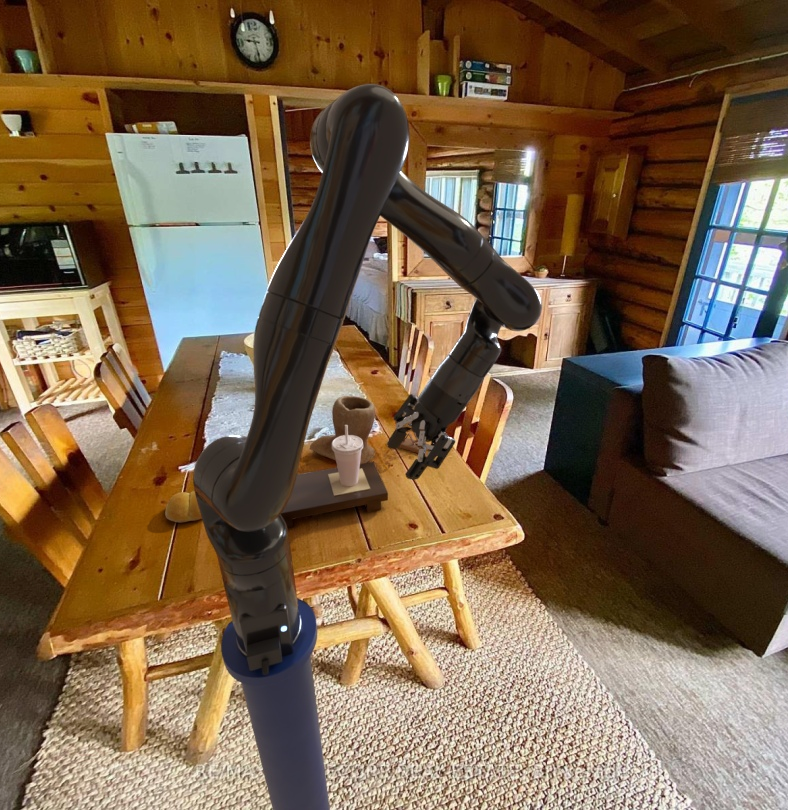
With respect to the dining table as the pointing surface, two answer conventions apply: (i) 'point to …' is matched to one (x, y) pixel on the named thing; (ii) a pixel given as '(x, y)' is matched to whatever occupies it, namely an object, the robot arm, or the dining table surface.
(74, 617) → the dining table surface
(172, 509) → the bread roll
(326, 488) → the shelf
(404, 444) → the gingerbread man figurine
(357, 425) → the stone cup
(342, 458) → the smoothie
